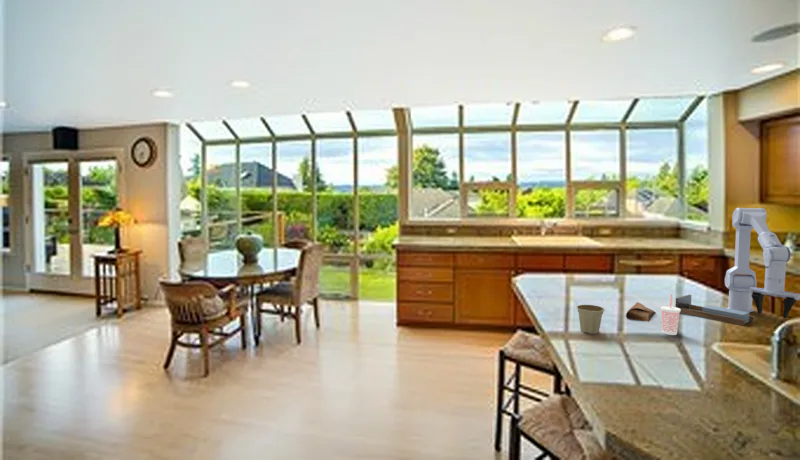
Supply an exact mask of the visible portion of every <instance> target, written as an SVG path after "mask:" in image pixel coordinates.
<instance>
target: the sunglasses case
mask: <svg viewBox="0 0 800 460" xmlns="http://www.w3.org/2000/svg"><path fill="white" fill-rule="evenodd" d="M654 314H656V311H654V310H653V309H650V308H648V307H646V306H645V305H644V304H642V303H640V302H636V303H635V304H633V306H631V307H630V308H629V309H628V311H627V312H626V314H625V317H626V319H627V320H634V321H641V322H650V319H651V317H652V316H653V315H654Z"/></svg>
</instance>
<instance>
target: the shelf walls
mask: <svg viewBox="0 0 800 460" xmlns="http://www.w3.org/2000/svg"><path fill="white" fill-rule="evenodd" d="M702 307H703V306H702V305H695V304H691V305H690V307H689V309H686V308H681V307H680V309H681V312H680V313H681V314H685V315H690V316H695V317H700V318H704V319H709V320H710V319H711V320H715V321H719V322H724V323H729V324H733V325H738V326H743V327H744V326H745V325H746V323H745V320H742V319H737V318H732V317H727V316H722V315H717V314H712V313H707V312H702ZM680 313H679V314H680ZM754 321H755V316H754V315H749V322H752V323H753V322H754Z"/></svg>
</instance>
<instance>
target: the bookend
mask: <svg viewBox="0 0 800 460" xmlns="http://www.w3.org/2000/svg"><path fill="white" fill-rule="evenodd" d="M690 305H692V294H688V295H687V294H685V295H684V296H683V295H682V296H679V297H676V298H675V307H677V308H680V307H681V308H686V309H689V307H690Z"/></svg>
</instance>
